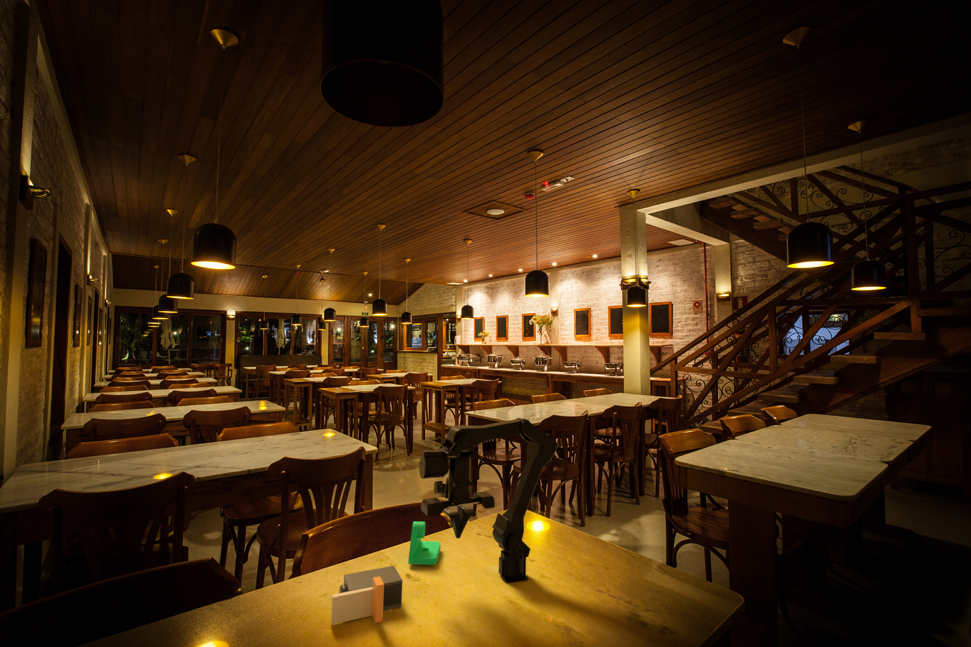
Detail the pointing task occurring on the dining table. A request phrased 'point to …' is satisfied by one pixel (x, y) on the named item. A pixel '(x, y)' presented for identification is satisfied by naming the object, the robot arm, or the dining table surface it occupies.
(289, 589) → the dining table surface
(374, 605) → the side door
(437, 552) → the camera mount
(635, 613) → the dining table surface
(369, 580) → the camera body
